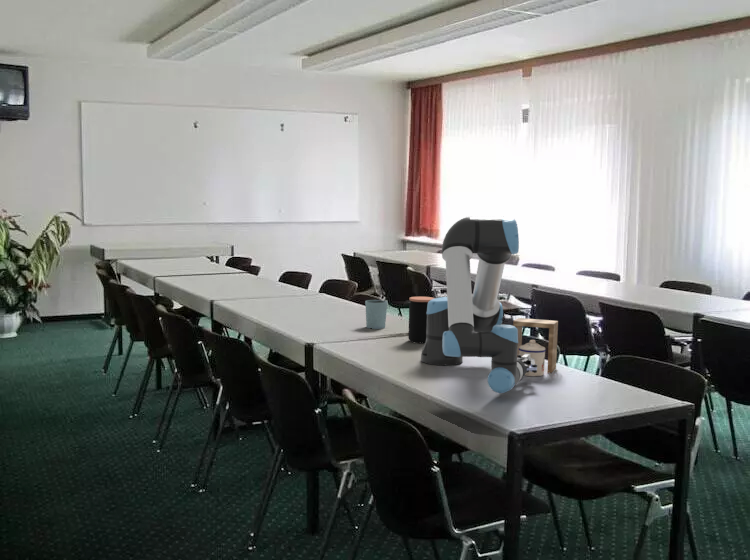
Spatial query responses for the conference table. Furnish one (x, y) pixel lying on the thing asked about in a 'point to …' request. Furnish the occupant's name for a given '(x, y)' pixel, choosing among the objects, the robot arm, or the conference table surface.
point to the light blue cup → (376, 313)
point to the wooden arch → (552, 337)
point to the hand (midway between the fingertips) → (528, 357)
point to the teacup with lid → (534, 356)
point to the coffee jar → (418, 319)
